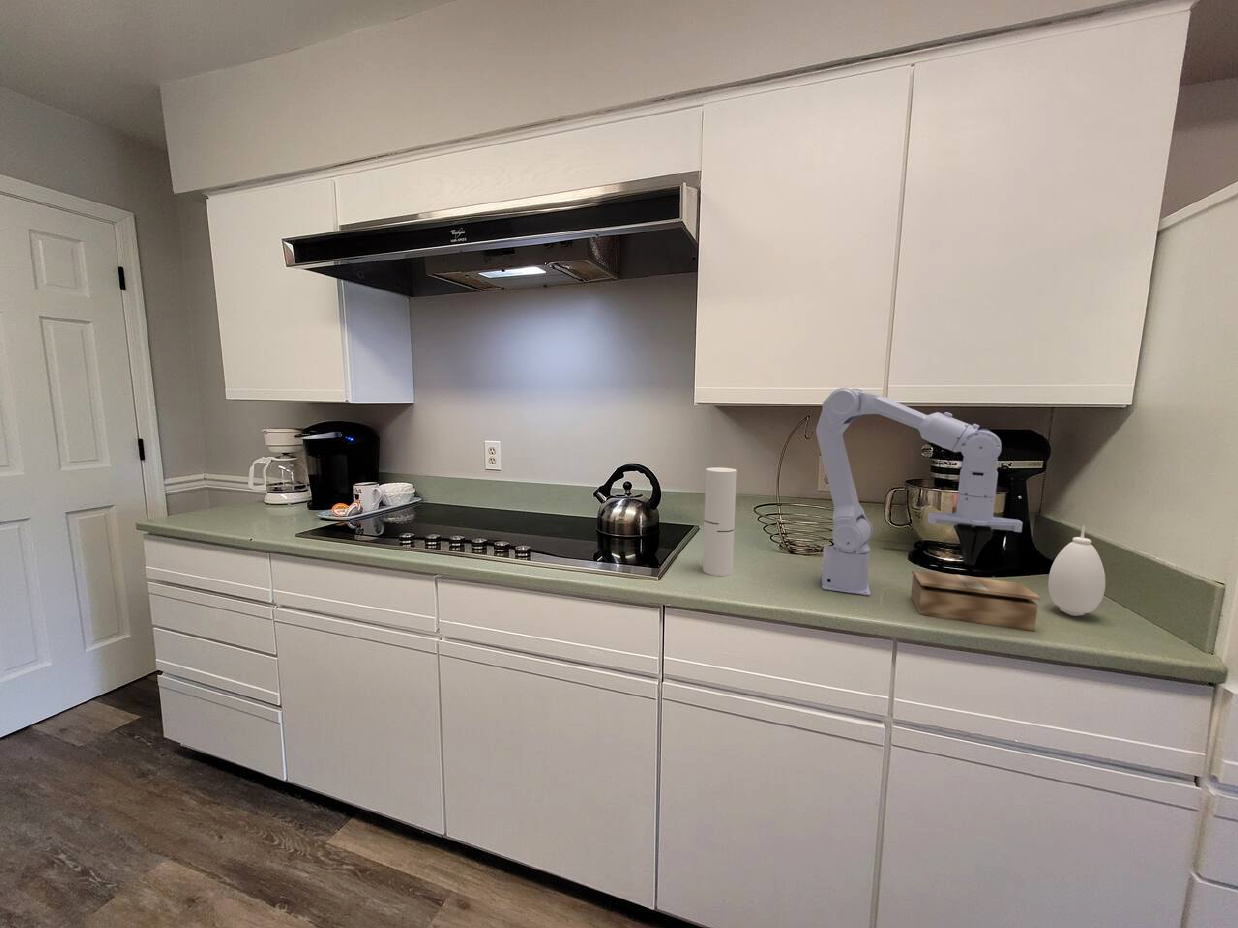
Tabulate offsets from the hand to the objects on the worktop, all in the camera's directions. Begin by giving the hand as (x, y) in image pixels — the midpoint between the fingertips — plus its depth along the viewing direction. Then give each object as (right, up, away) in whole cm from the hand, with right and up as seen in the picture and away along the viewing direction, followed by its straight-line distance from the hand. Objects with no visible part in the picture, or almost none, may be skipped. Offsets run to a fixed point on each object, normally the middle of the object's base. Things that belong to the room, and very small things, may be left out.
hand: (968, 563), depth 93 cm
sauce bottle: (+22, -11, +2) cm, 24 cm away
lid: (+1, -5, +1) cm, 5 cm away
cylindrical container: (-44, -7, +24) cm, 50 cm away
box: (+1, -10, +2) cm, 10 cm away
